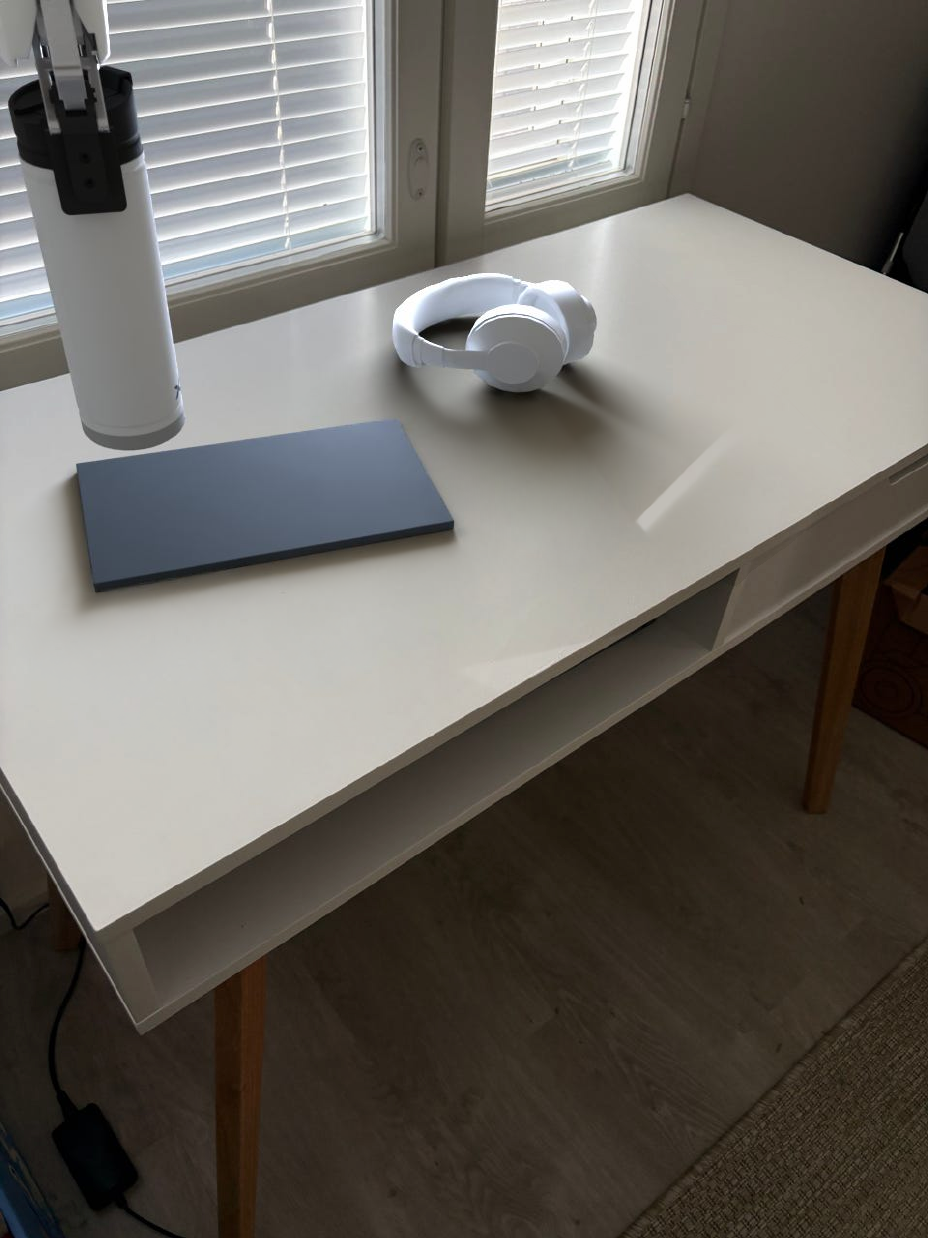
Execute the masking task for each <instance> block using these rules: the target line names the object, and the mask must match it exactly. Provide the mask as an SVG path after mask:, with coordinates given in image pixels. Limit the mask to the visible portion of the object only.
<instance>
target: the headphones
mask: <svg viewBox="0 0 928 1238" xmlns="http://www.w3.org/2000/svg"><path fill="white" fill-rule="evenodd" d="M394 312H395V313H394V315H393V322H392V342H393V346H394V348H395V351H396V353H397V356H398V357H399V359H400V360H401V361H402V362H403V363H404V364H405V365H407V366H408V367H413V368H414V367H415V368H421V367H422V365H423V366H426V365H429V366H434V367H439V368H448V369H455V370H457V369H458V370H473V372H474V373H475V375H476V376H477V377H478V378H480V379H481V380H482V381H484V383H486V384H487V385H489V386H491V387H494V388H495V389H498V390H500V391H505V392H512V393H527V392H533V391H535V390H538V389H541V388H544V387H545V386H547V385H548V384H549V383H551V382H552V381H554V380H556V378H557V376H558V375H559V374H560V372H561V370H562V368H563V366H564V365H567V364H570V363H573V362H577V361H578V360H581V359H583V358H585V357H586V356H587V355H588V354H589V353H590V351H591V350H592V347H593V346H594V345H593V344H594V339H595V332H596V329H597V326H598V322H597V321H598V319H597V315H596V311H595V309H594V306H593V305H592V303H591V302H590V301H589V300H588V299H587V298H586V297H585V296H584V295H581V294H580V293H579V291H577V289H576V288H575V287H573V286H572V285H570V284H569V283H568V282H565V281H561V280H547V281H543V282H541V283H531V282H527V281H523V280H521V279H517V278H514V276H511V275H506V274H501V273H489V272H488V273H487V272H486V273H477V274H471V275H468V276H463V277H453V278H449V279H447V280H444V281H442V282H440V283H439V282H438V283H436V284H433V285H430V286H427V287H426V288H423V289H422V290H419V291H417V292H416V293H414V294H412V295H411V296H409V297H408V298H407V299H405V301H404V302H403V303H402V304H401V305H400V306H399V307H398V308H396V310H395V311H394ZM477 314H483V315H482V316H480V317H479V318H478V319H477V320H476V321H475V323H474V325H473V327H472V328H471V330H470V332H469V334H468V335H467V338H466V343H465V349H449V348H445V347H444V346H441V345H438V344H435V343H433V342H430V341H428V340H426V339H425V338H423V337H421V335H420V333H421V332H422V331H424V330H425V329H427V328H429V327H431V326H433V325H436V324H439V323H441V322H444V321H446V320H451V319H456V318H460V317H464V316H467V315H477Z"/></svg>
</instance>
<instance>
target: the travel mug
mask: <svg viewBox="0 0 928 1238" xmlns="http://www.w3.org/2000/svg"><path fill="white" fill-rule="evenodd" d="M99 75H100V81H101V86H102V92H103V97H104V102H105V108H106V113H107V119H108V124H109V126H114V131H115V137H116V143H117V148H118V154H119V160H120V166H121V172H122V177H123V183H124V189H125V195H126V201H127V207H126V209H125V210H124V211H122V212H111V213H97V214H83V215H67V214H65V213H64V212H63V211H62V209H61V204H60V200H59V195H58V191H57V186H56V181H55V177H54V172H53V168H52V163H51V158H50V154H49V149H48V145H47V140H46V135H45V129H49V126H48V121H47V116H46V112H45V107H44V102H43V97H42V92H41V87H40V82H39V78H38V79H37V78H36V79H35V80H32V81H30V82H27V83H25V84H23V85H22V86H20V87H19V88H18V89H15V90H14V92H12V94H11V95H10V97H9V98H8V100H7V107H8V111H9V112H8V113H9V116H10V121H11V124H12V128H13V133H14V135H15V137H16V146H17V151H18V160H19V163H20V165H21V167H22V170H21V171H22V173H21V174H22V176H23V180H24V185H25V189H26V193H27V197H28V202H29V206H30V210H31V214H32V219H33V224H34V227H35V233H36V236H37V241H38V245H39V248H40V249H39V250H40V253H41V258H42V262H43V267H44V270H45V274H46V279H47V283H48V286H49V291H50V295H51V299H52V305H53V308H54V313H55V317H56V320H57V321H56V322H57V325H58V329H59V334H60V338H61V342H62V346H63V351H64V355H65V359H66V362H67V363H66V364H67V368H68V372H69V375H70V380H71V384H72V388H73V392H74V393H73V394H74V396H75V402H76V406H77V408H78V414H79V419H80V423H81V427H82V430H83V432H84V435H85V436H86V437H87V438H88V439H89V440H90V441H91V442H93V443H94V444H95V445H98V446H100V447H102V448H107V449H111V450H115V451H127V452H128V451H141V450H147V449H151V448H154V447H156V446H160V445H163V444H165V443H167V442H169V441H171V440H172V439H173V438H175V437H176V436H177V435H178V434H179V433H180V432H181V431H182V429H183V427H184V425H185V423H186V416H185V408H184V402H183V397H182V389H181V382H180V377H179V370H178V364H177V357H176V350H175V349H176V348H175V344H174V338H173V337H174V336H173V331H172V325H171V324H172V323H171V317H170V312H169V305H168V299H167V292H166V285H165V279H164V278H165V277H164V272H163V266H162V259H161V253H160V246H159V241H158V233H157V227H156V220H155V215H154V208H153V202H152V195H151V190H150V189H151V188H150V181H149V176H148V169H147V163H146V161H145V158H146V157H145V150H144V145H143V144H142V137H141V134H140V132H139V131H140V125H139V124H140V123H139V118H138V112H137V105H136V99H135V92H134V82H133V76H132V73H131V72H130V71H127V70H123V69H120V68H117V67H114V66H110V65H102V66H99ZM50 77H51V82H56V80H55V75H51V76H50ZM83 77H84V81H85V80H89V78H88V74H83ZM94 112H95V110H94ZM58 117H59V116H58ZM96 125H97V123H96ZM60 128H61V125H60Z"/></svg>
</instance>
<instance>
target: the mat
mask: <svg viewBox="0 0 928 1238" xmlns="http://www.w3.org/2000/svg"><path fill="white" fill-rule="evenodd" d="M75 467H76V474H77V481H78V488H79V495H80V503H81V509H82V516H83V523H84V531H85V538H86V545H87V551H88V559H89V565H90V574H91V581H92V586H93V590H94V592H95V593H98V592H99V593H100V592H103V591H109V590H115V589H120V588H121V589H122V588H126V587H132V586H138V585H143V584H144V585H145V584H148V583H155V582H161V581H166V580H171V579H176V578H182V577H188V576H192V575H193V576H194V575H199V574H205V573H211V572H216V571H221V570H227V569H232V568H240V567H245V566H250V565H256V564H261V563H266V562H272V561H279V560H284V559H289V558H295V557H301V556H307V555H312V554H317V553H323V552H328V551H329V552H330V551H335V550H339V549H340V550H341V549H345V548H346V549H347V548H351V547H357V546H362V545H368V544H374V543H379V542H380V543H381V542H385V541H391V540H395V539H396V540H397V539H401V538H407V537H414V536H418V535H424V534H431V533H436V532H441V531H442V532H443V531H446V530H452V529H454V528H455V520H454V517H453V516H452V514H451V512H450V511H449V509H448V507H447V505H446V504H445V502H444V500H443V498H442V497H441V494H440V492H439V491H438V489H437V488H436V487H437V486H435V484H434V482H433V480H432V478H431V476H430V475H429V473H428V472H427V470H426V468H425V465H424V464H423V462H422V460H421V458H420V457H419V455H418V454H417V452H416V450H415V448H414V447H413V445H412V443H411V440H410V439H409V437H408V436H407V433H406V432H405V430H404V428H403V426H402V425H401V423H400V421H399V419H398V417H394V418H385V419H379V420H378V419H377V420H372V421H366V422H365V421H364V422H356V423H351V424H350V423H349V424H344V425H337V426H330V427H323V428H315V429H309V430H301V431H295V432H288V433H281V434H280V433H279V434H275V435H267V436H260V437H253V438H246V439H238V440H231V441H224V442H218V443H212V444H211V443H210V444H204V445H203V444H202V445H197V446H190V447H183V448H176V449H168V450H162V451H155V452H148V453H147V452H146V453H141V454H133V455H126V456H120V457H112V458H106V459H98V460H92V461H85V462H77V463H76V464H75Z"/></svg>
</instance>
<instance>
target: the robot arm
mask: <svg viewBox="0 0 928 1238" xmlns="http://www.w3.org/2000/svg"><path fill="white" fill-rule="evenodd" d="M109 34H110V33H109V20H108V9H107V0H0V57H1V58H0V59H1V60H2V61H3V62H4V63H5V64H6V65H8V66H9V67H11V68H13V69H14V68H19V60H29V59H30V56H31V49H32V53H33V57H34V67H35V70H36V73H37V77H38V79H39V82H40V87H41V92H42V97H43V102H44V107H45V112H46V116H47V121H48V126H49V129H45V135H46V140H47V145H48V149H49V154H50V158H51V163H52V168H53V172H54V177H55V181H56V186H57V191H58V195H59V200H60V204H61V209H62V211H63V212H64V213H65V214H67V215H83V214H97V213H111V212H122V211H124V210H125V209H126V207H127V201H126V195H125V189H124V183H123V177H122V172H121V166H120V160H119V154H118V148H117V143H116V137H115V131H114V126H109V124H108V119H107V113H106V108H105V102H104V97H103V92H102V86H101V81H100V75H99V67H100V65H103V64H104V63H105V62H106V61H107V60H108V59H109V58H110V56H111V47H110V46H111V45H110V35H109ZM83 74H88V78H89V80H85V81H84V77H83ZM51 75H55V80H56V82H51V77H50V76H51ZM94 110H95V112H94ZM58 116H59V117H58ZM96 123H97V125H96ZM60 125H61V128H60Z"/></svg>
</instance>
